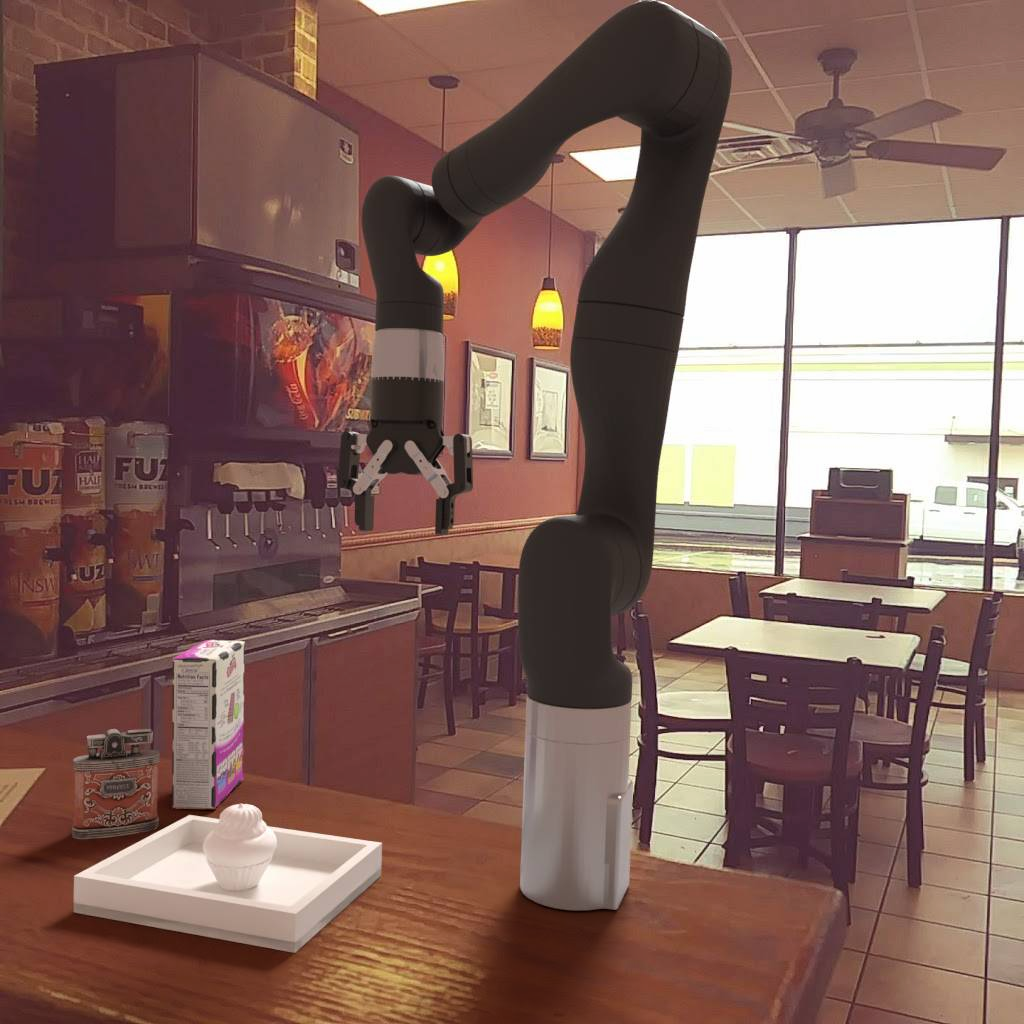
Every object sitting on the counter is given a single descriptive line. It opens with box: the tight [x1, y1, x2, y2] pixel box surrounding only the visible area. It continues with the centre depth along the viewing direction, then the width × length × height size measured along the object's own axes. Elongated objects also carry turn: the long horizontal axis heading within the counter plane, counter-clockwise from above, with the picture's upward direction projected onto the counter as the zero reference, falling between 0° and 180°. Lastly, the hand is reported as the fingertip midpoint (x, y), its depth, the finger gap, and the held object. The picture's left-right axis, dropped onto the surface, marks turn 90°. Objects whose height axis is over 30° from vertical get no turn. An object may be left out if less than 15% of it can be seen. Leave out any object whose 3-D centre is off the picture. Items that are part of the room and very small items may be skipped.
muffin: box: [203, 802, 277, 891], centre depth 88 cm, size 6×6×7 cm
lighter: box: [71, 728, 161, 840], centre depth 102 cm, size 8×3×10 cm, turn 118°
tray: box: [72, 814, 383, 954], centre depth 89 cm, size 20×16×3 cm
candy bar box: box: [171, 639, 246, 809], centre depth 114 cm, size 11×5×16 cm, turn 179°
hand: (403, 532), depth 108 cm, fingers open, 8 cm apart
